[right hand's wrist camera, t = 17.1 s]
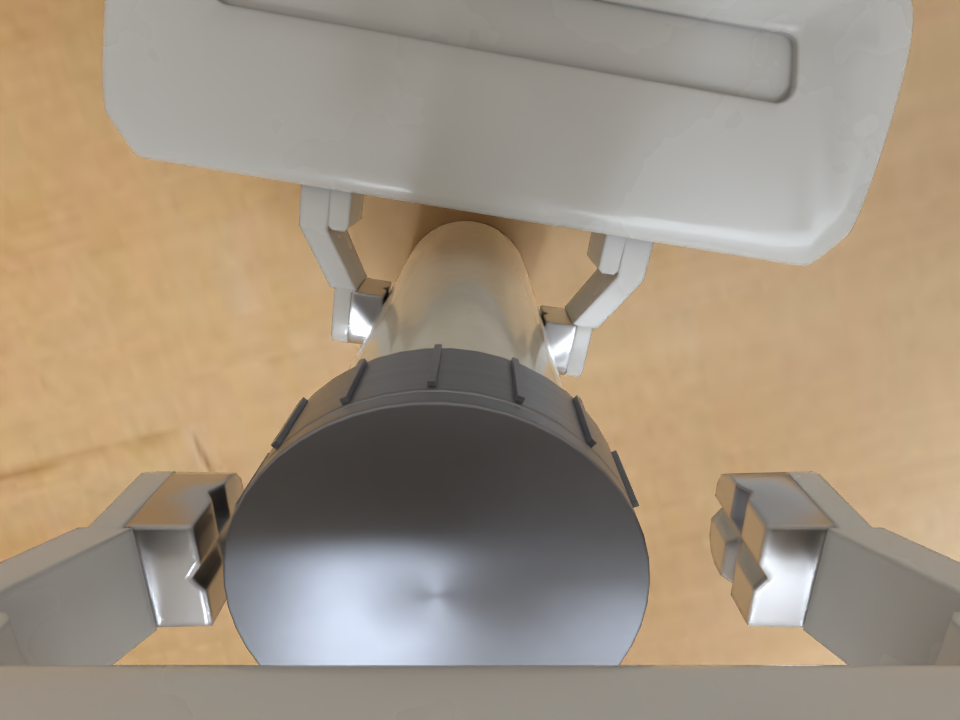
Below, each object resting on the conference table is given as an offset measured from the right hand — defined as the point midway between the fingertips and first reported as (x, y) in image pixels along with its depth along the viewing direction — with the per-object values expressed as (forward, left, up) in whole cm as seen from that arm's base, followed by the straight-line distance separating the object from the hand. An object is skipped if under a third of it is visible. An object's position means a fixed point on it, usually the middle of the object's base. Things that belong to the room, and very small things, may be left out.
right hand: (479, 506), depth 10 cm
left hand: (-1, 0, -10) cm, 10 cm away
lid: (0, 0, +2) cm, 2 cm away
